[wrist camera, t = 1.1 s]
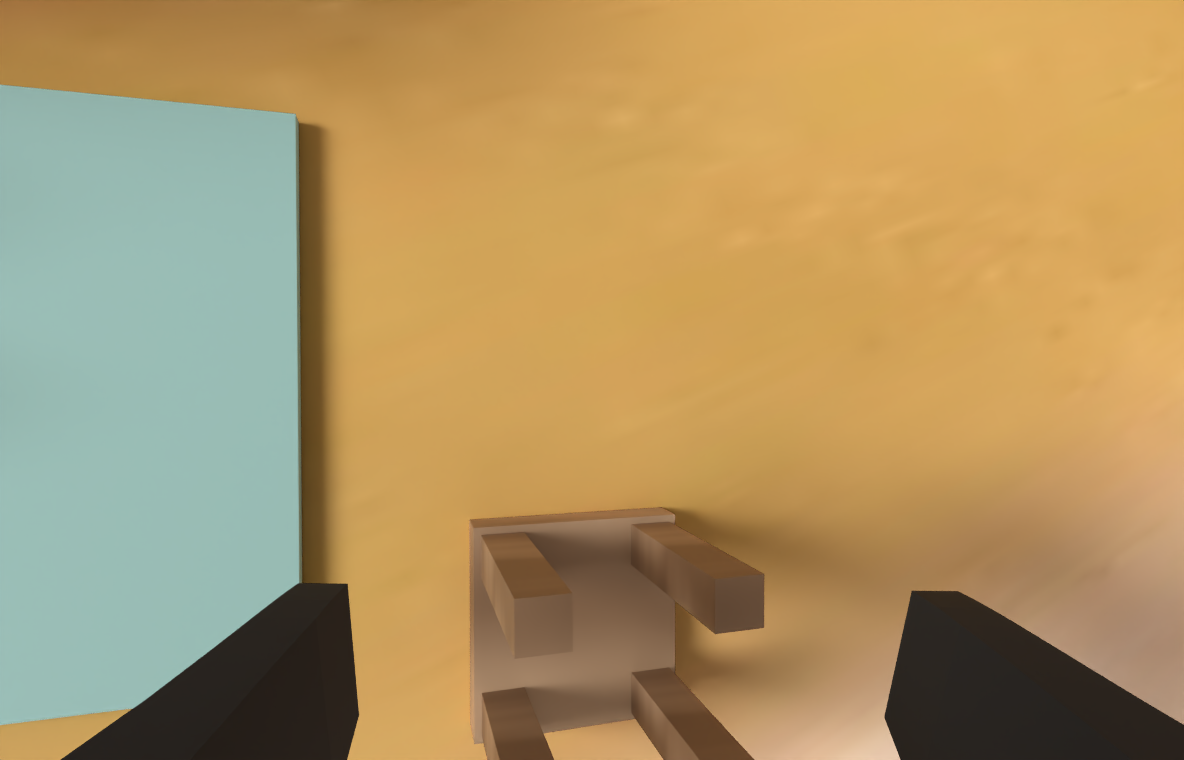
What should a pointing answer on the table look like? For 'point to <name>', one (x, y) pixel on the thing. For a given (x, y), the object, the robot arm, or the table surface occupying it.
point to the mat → (142, 390)
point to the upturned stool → (596, 629)
